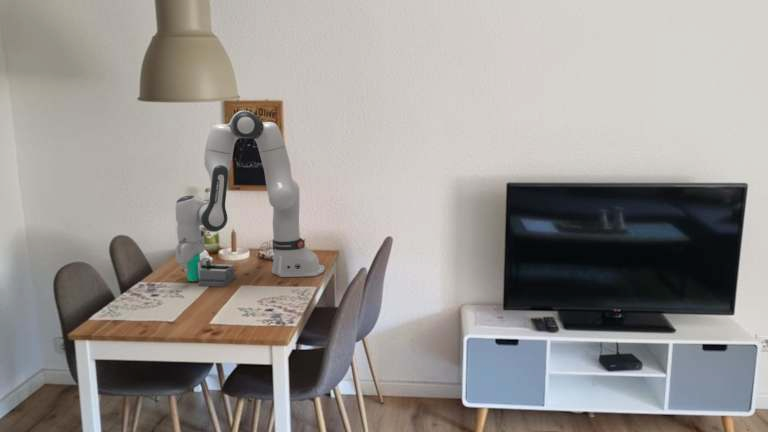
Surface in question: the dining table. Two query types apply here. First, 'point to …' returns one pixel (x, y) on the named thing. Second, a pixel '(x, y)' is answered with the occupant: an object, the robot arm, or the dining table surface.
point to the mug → (205, 256)
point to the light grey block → (203, 265)
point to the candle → (193, 269)
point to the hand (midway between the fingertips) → (191, 268)
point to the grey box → (217, 275)
